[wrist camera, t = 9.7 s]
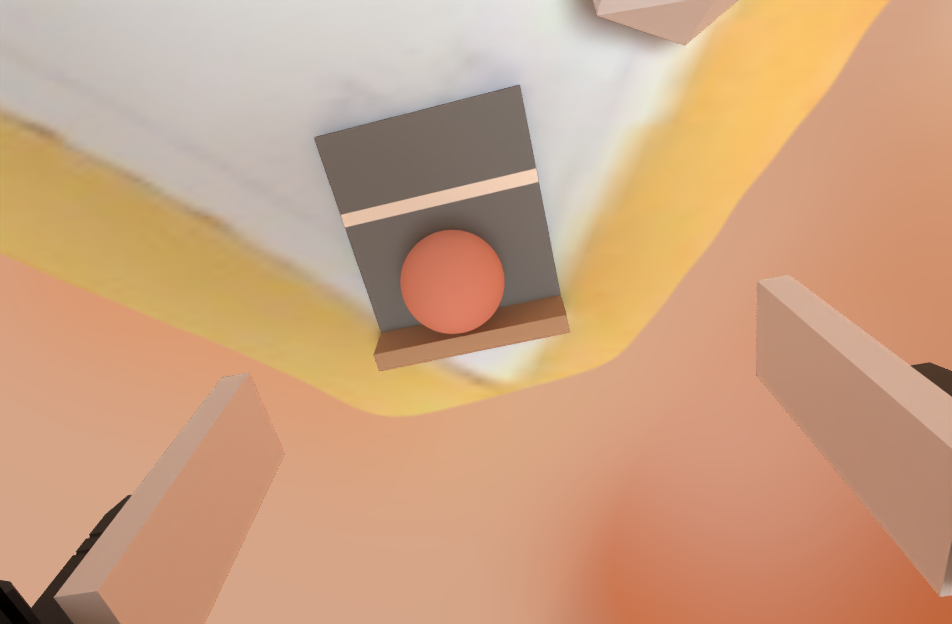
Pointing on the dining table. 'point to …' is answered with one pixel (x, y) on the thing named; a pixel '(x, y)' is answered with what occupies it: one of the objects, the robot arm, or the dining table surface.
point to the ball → (452, 281)
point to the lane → (447, 217)
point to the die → (664, 16)
